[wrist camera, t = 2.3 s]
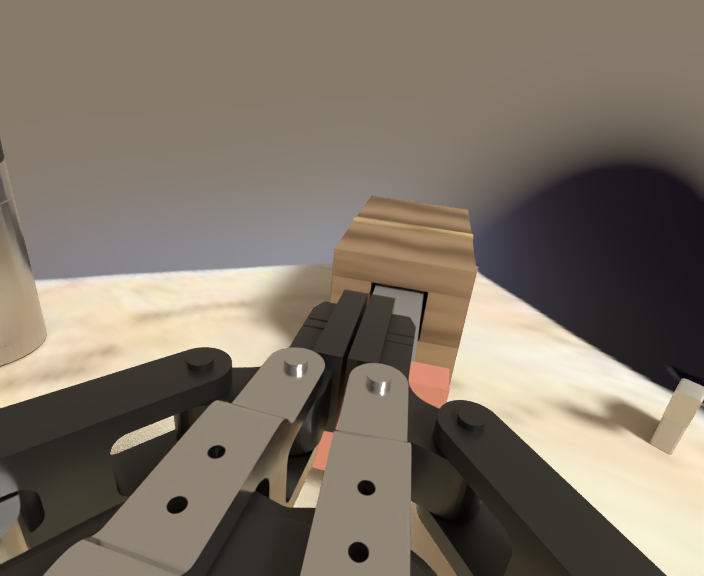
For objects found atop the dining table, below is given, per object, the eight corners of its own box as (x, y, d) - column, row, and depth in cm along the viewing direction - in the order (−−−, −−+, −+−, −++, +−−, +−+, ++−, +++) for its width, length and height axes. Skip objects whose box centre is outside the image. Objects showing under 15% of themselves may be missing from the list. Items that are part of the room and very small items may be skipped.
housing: (447, 397, 42) (478, 269, 36) (323, 371, 43) (334, 245, 38) (448, 303, 60) (468, 208, 54) (360, 288, 61) (371, 193, 55)
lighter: (661, 422, 41) (698, 351, 38) (682, 433, 40) (722, 361, 37) (638, 459, 37) (678, 383, 33) (661, 473, 36) (706, 395, 32)
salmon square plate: (424, 494, 27) (449, 390, 23) (298, 464, 28) (304, 361, 25) (434, 330, 45) (449, 258, 41) (357, 316, 46) (366, 244, 42)
